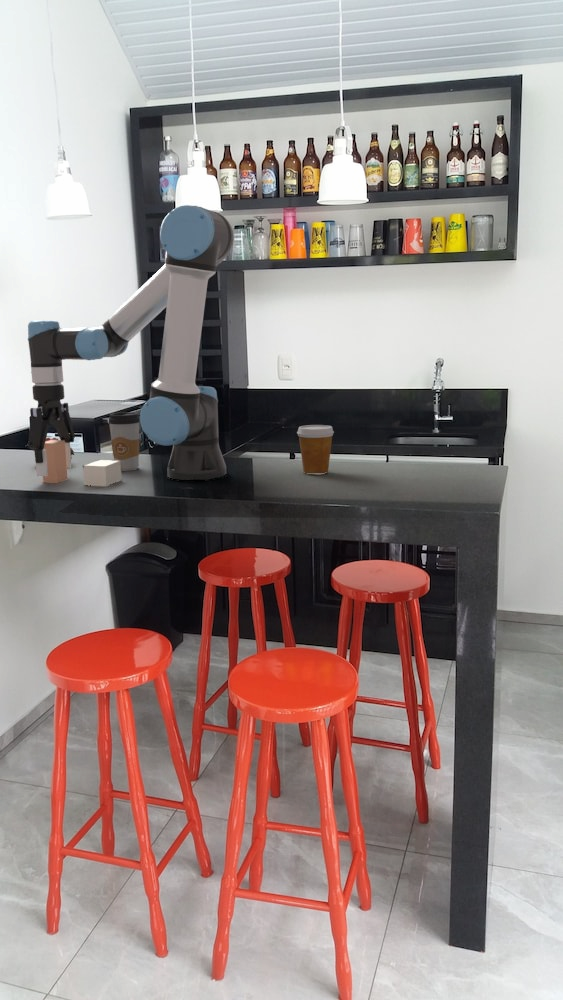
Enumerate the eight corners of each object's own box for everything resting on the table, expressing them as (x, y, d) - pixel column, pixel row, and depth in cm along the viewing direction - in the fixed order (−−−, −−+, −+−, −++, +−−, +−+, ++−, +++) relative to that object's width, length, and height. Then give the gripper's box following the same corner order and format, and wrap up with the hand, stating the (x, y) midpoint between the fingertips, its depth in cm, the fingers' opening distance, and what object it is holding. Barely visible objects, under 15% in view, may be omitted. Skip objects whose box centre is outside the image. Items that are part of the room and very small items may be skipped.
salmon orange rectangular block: (67, 479, 213) (64, 440, 211) (57, 482, 208) (54, 443, 206) (53, 478, 214) (50, 440, 212) (43, 482, 209) (40, 443, 207)
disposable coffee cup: (298, 469, 220) (298, 424, 218) (334, 469, 219) (334, 424, 217) (296, 476, 211) (295, 429, 209) (333, 476, 210) (333, 429, 208)
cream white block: (121, 480, 210) (120, 460, 209) (106, 486, 203) (104, 466, 202) (100, 479, 212) (98, 459, 211) (84, 485, 204) (82, 465, 203)
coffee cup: (106, 471, 223) (103, 415, 220) (118, 465, 231) (114, 412, 228) (136, 472, 221) (133, 415, 218) (146, 466, 229) (143, 412, 226)
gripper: (59, 380, 218) (65, 463, 222) (7, 387, 196) (15, 479, 201) (84, 380, 216) (90, 464, 220) (35, 388, 194) (42, 480, 199)
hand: (54, 471), depth 211 cm, fingers open, 10 cm apart
